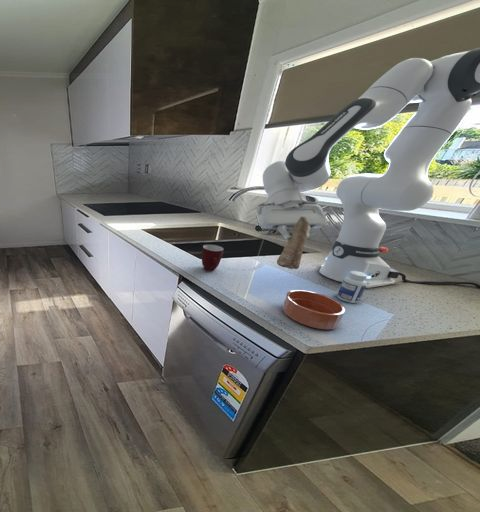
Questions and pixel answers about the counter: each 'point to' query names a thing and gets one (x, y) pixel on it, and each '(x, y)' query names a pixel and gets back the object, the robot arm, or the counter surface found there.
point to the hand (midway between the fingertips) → (297, 238)
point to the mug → (211, 256)
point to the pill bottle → (352, 287)
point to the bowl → (313, 309)
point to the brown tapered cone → (294, 245)
